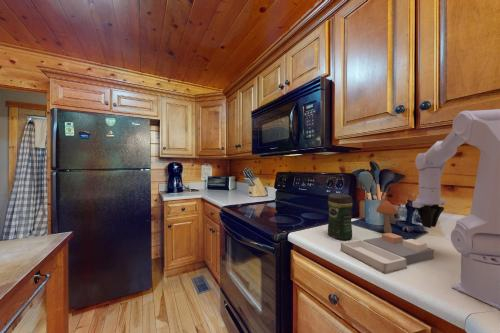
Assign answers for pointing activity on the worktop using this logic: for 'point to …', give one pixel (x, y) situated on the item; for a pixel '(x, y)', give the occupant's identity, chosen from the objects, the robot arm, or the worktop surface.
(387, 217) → the mushroom
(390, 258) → the grey bin
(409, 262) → the slate board
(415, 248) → the cream tile
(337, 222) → the coffee jar
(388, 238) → the terracotta tile
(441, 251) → the worktop surface
